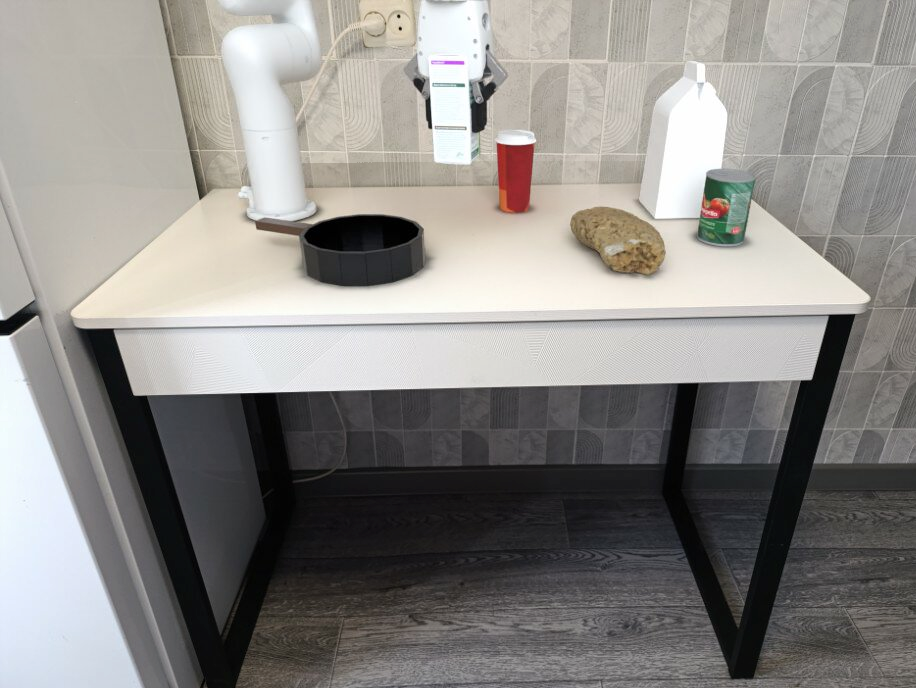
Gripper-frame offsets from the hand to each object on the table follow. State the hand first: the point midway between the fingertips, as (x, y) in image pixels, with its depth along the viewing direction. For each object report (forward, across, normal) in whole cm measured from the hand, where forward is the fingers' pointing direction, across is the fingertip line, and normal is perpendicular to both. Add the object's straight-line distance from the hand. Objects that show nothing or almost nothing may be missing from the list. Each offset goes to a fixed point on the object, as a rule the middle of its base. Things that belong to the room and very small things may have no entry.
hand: (456, 128), depth 101 cm
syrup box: (+5, 0, 0) cm, 5 cm away
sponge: (+20, -22, -11) cm, 32 cm away
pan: (+20, +17, +8) cm, 28 cm away
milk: (+20, -27, -41) cm, 53 cm away
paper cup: (+20, +2, -28) cm, 35 cm away
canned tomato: (+20, -37, -26) cm, 50 cm away
